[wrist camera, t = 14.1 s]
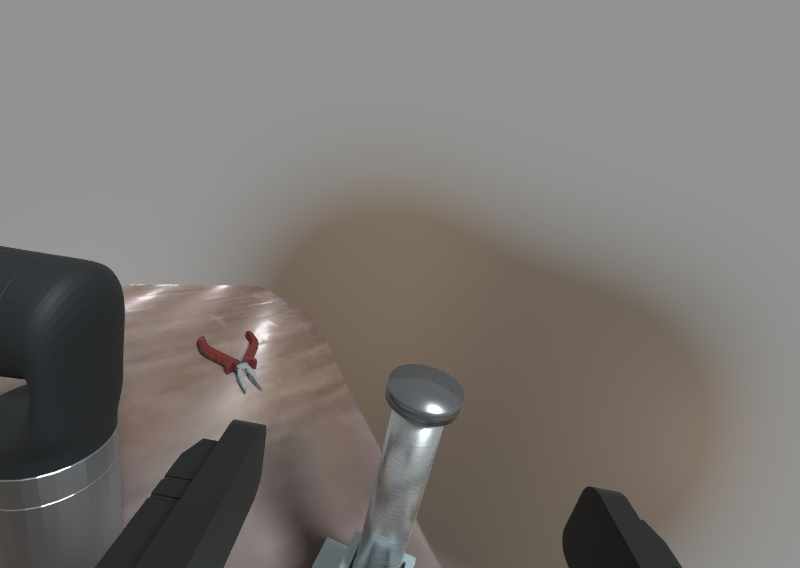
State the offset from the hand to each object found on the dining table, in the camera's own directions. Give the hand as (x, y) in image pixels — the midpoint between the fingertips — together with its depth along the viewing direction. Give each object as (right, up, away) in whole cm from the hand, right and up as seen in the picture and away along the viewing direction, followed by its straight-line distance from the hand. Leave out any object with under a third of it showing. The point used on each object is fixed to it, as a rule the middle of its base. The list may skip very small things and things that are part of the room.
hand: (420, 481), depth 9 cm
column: (-3, -22, +25) cm, 33 cm away
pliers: (-35, -11, +65) cm, 74 cm away
